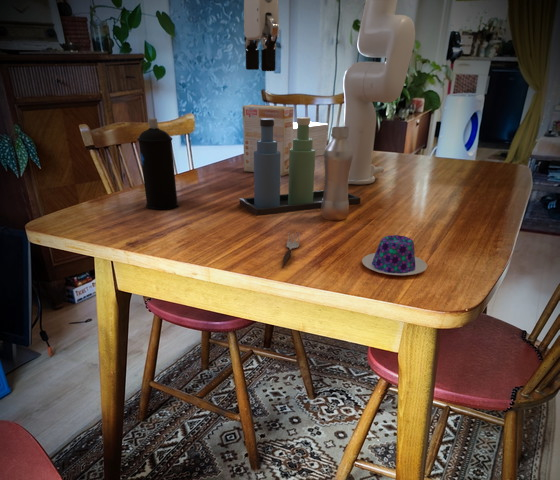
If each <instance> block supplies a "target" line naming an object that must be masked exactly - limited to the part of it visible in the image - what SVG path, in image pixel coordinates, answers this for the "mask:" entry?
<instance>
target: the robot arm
mask: <svg viewBox="0 0 560 480" xmlns="http://www.w3.org/2000/svg"><path fill="white" fill-rule="evenodd" d="M398 1H399V0H365V2H364V8H363V12H362V15H361V16H362V17H361V21H360V26H359V31H358V36H357V50H358V52H359V54H360V55H361V56H364V57H367V58H379V59H381V58H385V61H384V62H383V61H358V62H354V63H352V64H351V65H350V66H349V67H347V69H346V71H345V72H344V75H343V83H342V84H343V96H344V114H343V115H344V117H343V127H349V137H347V140H348V142H349V144H350V145H351V148H352V150H353V159H352V164H351V169H350V174H349V179H348V181H349V182H348V185H370V184H373V183H375V181H376V177H375V174H383V173H384V171H385V167H384V166H382V165H381V166H375V165H374V164H372V163H373V153H374V147H375V146H374V145H375V138H376V128H377V112H376V109H375V105H374V103H387V104H388V103H390V104H391V103H393V102H396V101H398V99H399V97H400V96H401V94H402V92H403V89H404V86H405V82H406V79H407V75H408V72H409V67H410V63H411V59H412V55H413V51H414V47H415V42H416V28H415V24H414V21H413V19H412V18H411V17H410V16H408V15H405V14H396V10H397V5H398ZM279 10H280V9H279V0H243V33H244V37H243V38H244V39H243V40H244V49H245V54H244V55H245V69H246V70H249V71H258V70H259V69H260V68H261V71H262V72H275V71H276V53H277V51H276V50H277V40H278V38H279V35H280V13H279V12H280V11H279ZM259 43H261V46H262V49H261V51H260V49H258V48H259ZM260 58H261V59H260ZM260 63H261V64H260Z"/></svg>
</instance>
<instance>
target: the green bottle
mask: <svg viewBox="0 0 560 480" xmlns="http://www.w3.org/2000/svg"><path fill="white" fill-rule="evenodd" d="M310 122H311V117H309V116H298V117H296V123H297V124H298V125H297V138H294V139H293V148H292V149H290V150H289V174H288V188H287V189H288V193H287V194H288V205H293V204H302V203H311V202H313V191H315V190H314V188H315V187H314V185H315V171H316V170H315V167H316V156H315V149H312V144H313V139H311V138H309V125H310Z"/></svg>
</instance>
